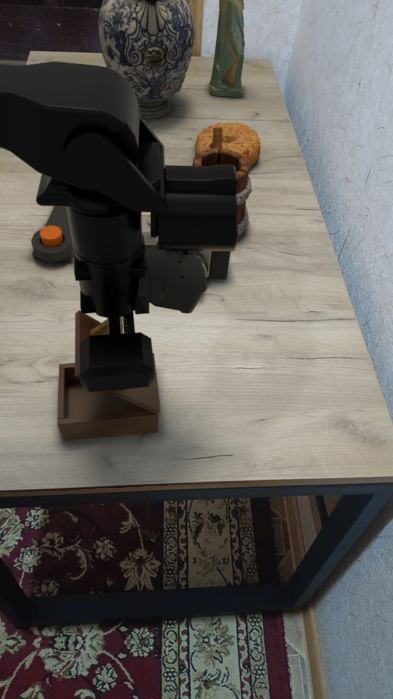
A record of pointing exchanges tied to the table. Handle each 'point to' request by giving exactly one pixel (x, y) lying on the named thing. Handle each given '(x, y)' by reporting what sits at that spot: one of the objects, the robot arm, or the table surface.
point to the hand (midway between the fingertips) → (118, 353)
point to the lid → (137, 396)
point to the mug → (242, 169)
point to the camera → (211, 260)
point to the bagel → (232, 140)
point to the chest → (97, 411)
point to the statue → (228, 50)
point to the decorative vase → (148, 48)
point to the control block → (66, 248)
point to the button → (51, 236)
